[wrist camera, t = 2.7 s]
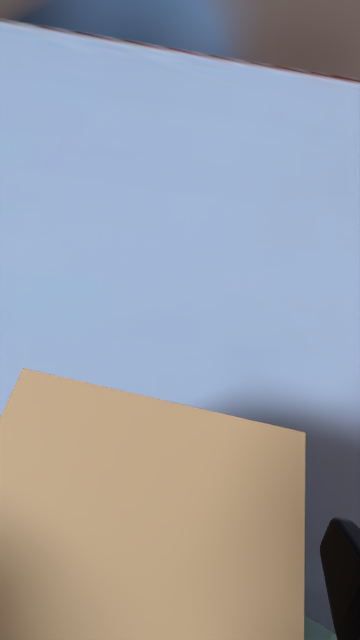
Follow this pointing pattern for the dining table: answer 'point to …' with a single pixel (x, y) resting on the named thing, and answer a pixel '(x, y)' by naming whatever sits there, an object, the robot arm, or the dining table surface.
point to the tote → (316, 631)
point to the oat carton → (146, 519)
